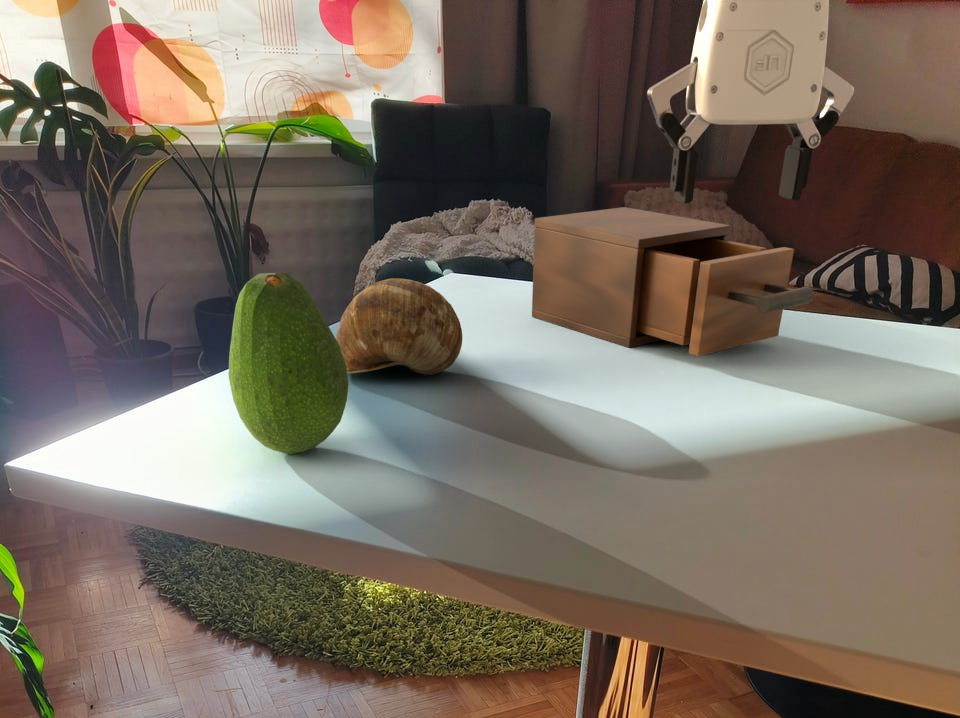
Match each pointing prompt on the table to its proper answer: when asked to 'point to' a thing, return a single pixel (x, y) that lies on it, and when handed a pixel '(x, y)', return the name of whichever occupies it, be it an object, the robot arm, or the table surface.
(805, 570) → the table surface
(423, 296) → the seashell
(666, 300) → the drawer
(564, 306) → the cabinet
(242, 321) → the fruit
